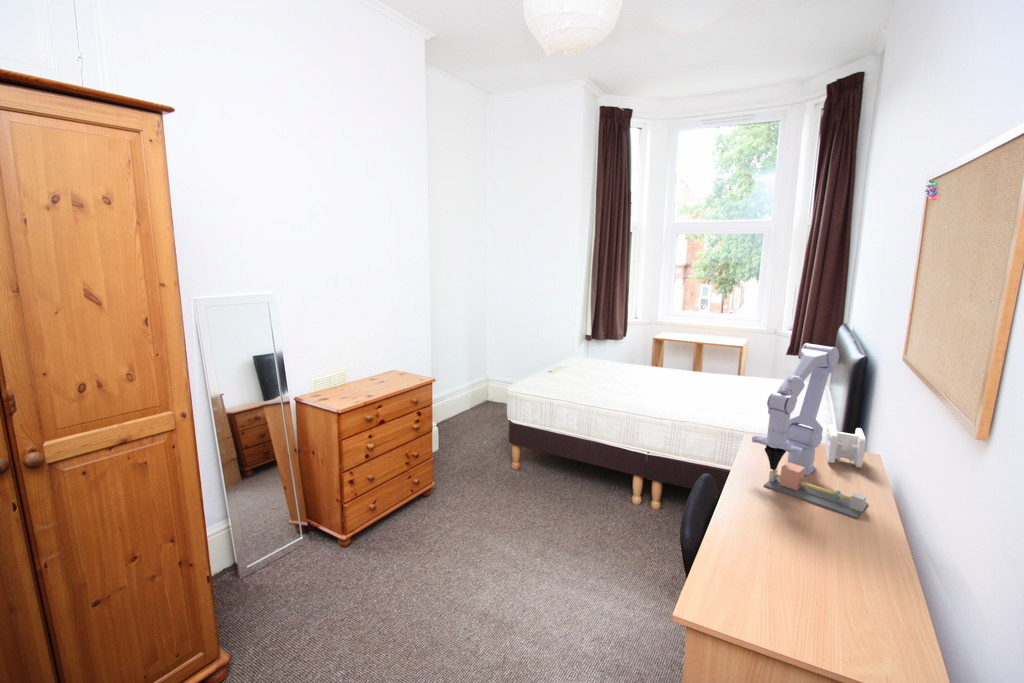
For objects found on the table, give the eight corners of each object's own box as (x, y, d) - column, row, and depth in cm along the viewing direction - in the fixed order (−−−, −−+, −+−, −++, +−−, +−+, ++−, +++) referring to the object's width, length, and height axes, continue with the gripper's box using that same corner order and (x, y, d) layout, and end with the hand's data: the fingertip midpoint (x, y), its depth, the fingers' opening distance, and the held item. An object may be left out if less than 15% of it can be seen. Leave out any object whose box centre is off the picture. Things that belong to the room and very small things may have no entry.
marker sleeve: (785, 479, 153) (788, 462, 152) (802, 485, 149) (805, 467, 148) (779, 484, 149) (781, 467, 148) (796, 490, 145) (799, 472, 144)
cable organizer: (862, 472, 161) (867, 440, 158) (825, 465, 166) (830, 434, 164) (857, 456, 173) (861, 427, 171) (823, 450, 179) (827, 421, 176)
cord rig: (777, 475, 158) (778, 463, 157) (867, 504, 139) (870, 491, 138) (763, 486, 150) (764, 473, 149) (857, 519, 131) (859, 504, 130)
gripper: (749, 426, 153) (745, 464, 155) (798, 439, 142) (793, 480, 145) (758, 421, 157) (754, 458, 160) (806, 433, 147) (801, 473, 149)
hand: (773, 468), depth 152 cm, fingers closed
